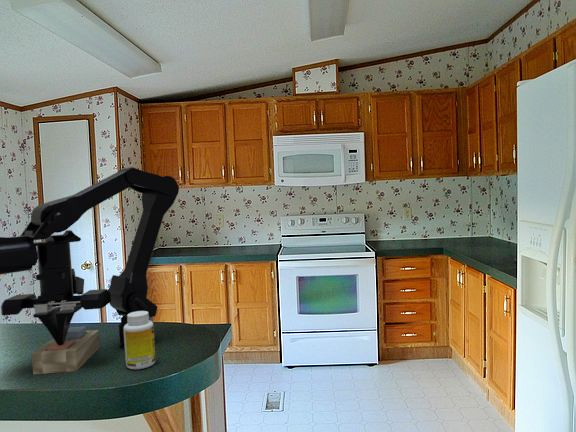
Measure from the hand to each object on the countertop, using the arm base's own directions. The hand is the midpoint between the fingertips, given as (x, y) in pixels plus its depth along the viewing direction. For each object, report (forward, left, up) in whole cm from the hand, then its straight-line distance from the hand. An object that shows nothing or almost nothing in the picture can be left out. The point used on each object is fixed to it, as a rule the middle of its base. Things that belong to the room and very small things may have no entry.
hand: (61, 344), depth 86 cm
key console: (0, -3, -4) cm, 5 cm away
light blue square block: (0, -6, -2) cm, 7 cm away
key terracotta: (0, 0, -3) cm, 3 cm away
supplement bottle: (-16, +3, -5) cm, 17 cm away
